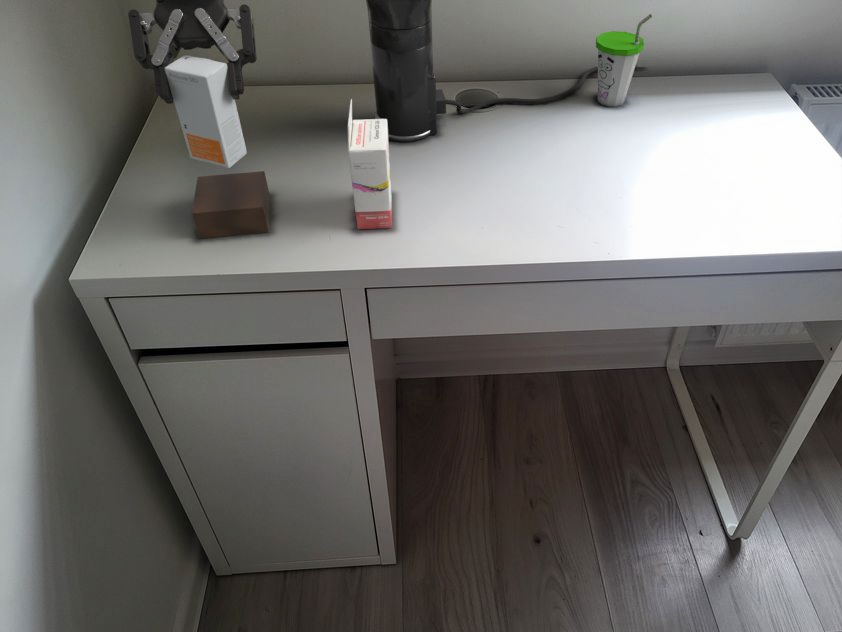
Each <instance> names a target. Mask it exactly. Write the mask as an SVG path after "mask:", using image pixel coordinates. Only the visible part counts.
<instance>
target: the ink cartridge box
mask: <svg viewBox="0 0 842 632" xmlns="http://www.w3.org/2000/svg"><path fill="white" fill-rule="evenodd" d="M349 101H350V102H349V110H348V119H347V156H348V162H349V169H350V171H349V172H350V178H351V186H352V187H351V188H352V194H353V195H352V196H353V205H354V211H355V219H356V220H355V221H356V229H357V230H367V229H368V230H369V229H372V230H373V229H392V227H393V224H392V219H393V218H392V216H393V215H392V211H393V210H392V204H393V203H392V198H393V197H392V195H393V194H392V186H391V185H392V184H391V168H390V167H391V166H390V164H391V163H390V146H389V145H390V144H389V139H388V124H387V119H375V118H369V119H368V118H367V119H353V99H352V98H351V99H350V100H349Z"/></svg>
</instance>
